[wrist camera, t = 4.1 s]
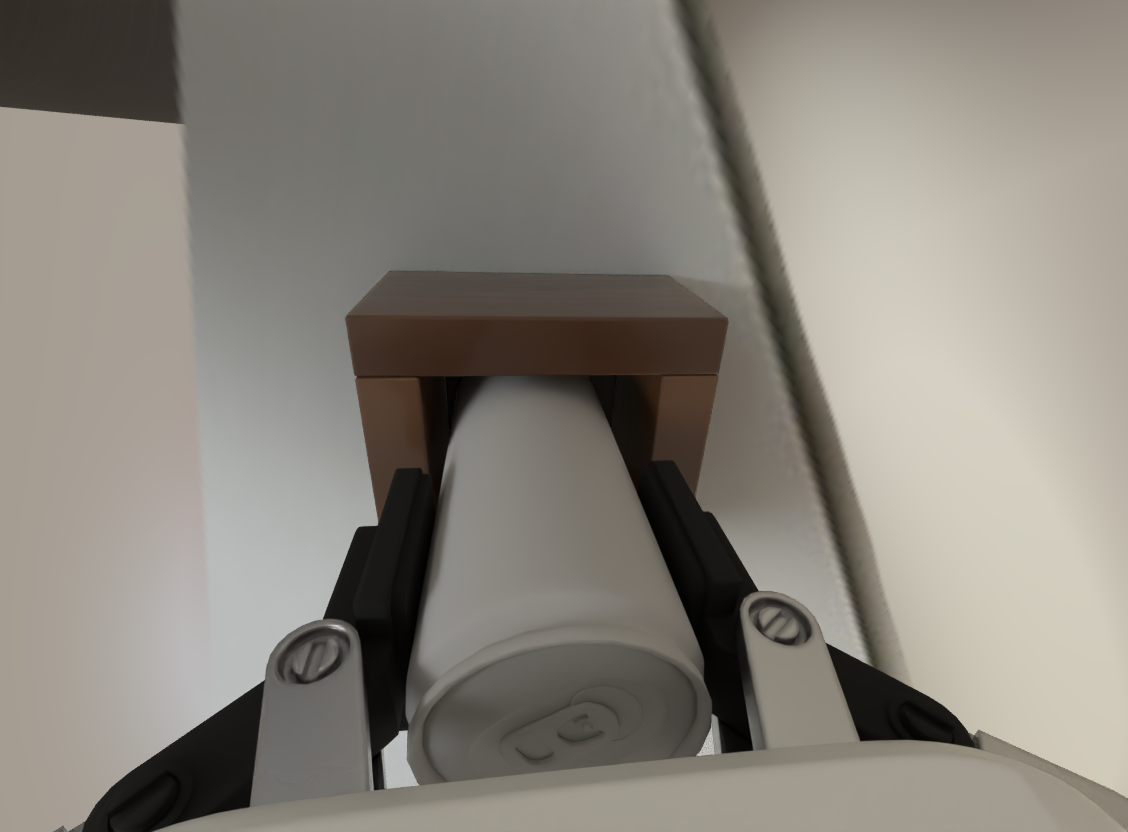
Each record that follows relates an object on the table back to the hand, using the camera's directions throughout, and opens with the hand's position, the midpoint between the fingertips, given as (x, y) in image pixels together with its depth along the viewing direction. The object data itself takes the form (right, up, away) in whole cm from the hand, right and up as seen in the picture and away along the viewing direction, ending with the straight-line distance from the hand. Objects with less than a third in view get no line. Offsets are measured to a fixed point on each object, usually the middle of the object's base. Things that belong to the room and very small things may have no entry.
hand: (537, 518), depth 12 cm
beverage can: (-1, +3, +6) cm, 7 cm away
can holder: (0, +3, +6) cm, 7 cm away
